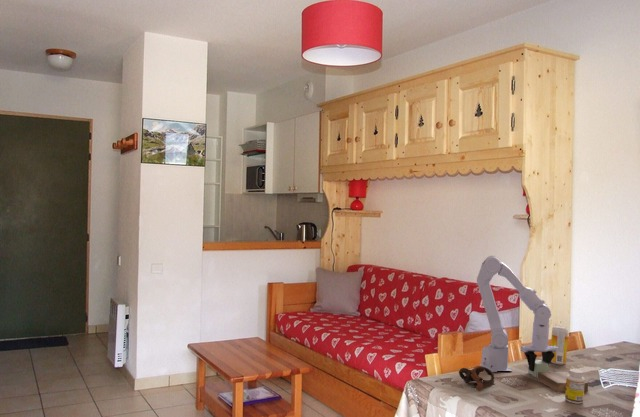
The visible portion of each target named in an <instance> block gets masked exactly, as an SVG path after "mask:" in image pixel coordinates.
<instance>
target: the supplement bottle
mask: <svg viewBox="0 0 640 417" xmlns="http://www.w3.org/2000/svg"><path fill="white" fill-rule="evenodd" d="M568 373H569V375H567V378H566V391H565V396H564V398H565V400H566V401H567V402H569V403H572V404H578V405H579V404H582V403H584V401H585V400H584V399H585V398H584V396H585V391H584V384H585V381H586V379H585V377H583V371H582V370H580V369H576V368H575V369H574V368H571V369H569V372H568Z"/></svg>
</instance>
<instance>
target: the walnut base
mask: <svg viewBox="0 0 640 417" xmlns="http://www.w3.org/2000/svg"><path fill="white" fill-rule="evenodd" d="M567 375H569V372H568V371H548V372H538V377H537V381H538V382H540V383H542V384H544V385H545V386H547V387H549V388H551V389H552V390H554V391H556V392H566V378H567ZM588 391H589V382H587V381H586V380H585V384H584V392H588Z"/></svg>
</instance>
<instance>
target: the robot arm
mask: <svg viewBox="0 0 640 417" xmlns="http://www.w3.org/2000/svg"><path fill="white" fill-rule="evenodd" d="M478 271H479V272H478V275H477V277H476V283H477V286H478V290H479V292H480V296H481V301H482V304H483V306H484V310H485V313H486V317H487V321H488V323H489V327H490V328H489V329H490V332H491V334H490V337H491V339H490V341H491V342H489V344H488V345H487V346H484V347H483V348H482V350H481V359H480V361H481V362H480V365H479V366H483V367H486V368H488V369H489V370H490V371H491V372H492V373H498V372H497V371H512V372H513V370H512V369H510V368H508V362H509V345H508V344H509V337H508V336H509V335H508V332H507V330H506V329H505V328H504V326H503V323H502V319H501V317H500V313H499V310H498V308H497V304H496V301H495V300H496V299H495V297H494V293H493V291H492V285H491V283H490V282H491V280H492V279H493V277H494V276H495V275H498V276H500V277H503V278H505V279H506V280H507V281H508V282H509V283H510V284H511V285H512V286H513V287H514V288H515V289H516V290H517V292H518V293H519V296H518V298H519V299H520V300H521V301H522V302H523V303H524V304H525V306H526V307H528V309H529V310H530V311H531V312H532V313H533V315H534V318H533V323H532V333H531V334H532V336H531V344H529V345H521V346H520V351H521V352H522V353H524V356H525V357H526V361H527V363H528V364H527V366H528V369H529V370H530V371H534V368H535V360H537V356H538V355H537V354H536V353H541V357H542V358H541V360H542V361H544V362H546V363H548V368H549V366H550V364H551V363H552V362H551V360H552V359H553V357H554V356H555V354H554V353H553V352H558V347H556V346H551V345H549V336H550V334H549V332H550V318H551V317H552V313H551V310H550V308H549V306H548V304H546V301H545V300H544V299H541V298H540V297H539V295H538V294H537V290H535V289H532V287H527V286H526V285H524V283H523V282H522V281H521V279H520V278H519V277H517V275H516V274H515V273H514V272H513V270H512V269H511V268H510V267H509V266H508V265H506V263H504V262H503V261H501V259H500V258H499V257H497V256H495V255H489V256H487V257H486V258H485V259H484V261H483V262H482V263H481V266H480V269H479V270H478Z"/></svg>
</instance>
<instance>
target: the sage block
mask: <svg viewBox="0 0 640 417" xmlns="http://www.w3.org/2000/svg"><path fill="white" fill-rule="evenodd" d="M538 372H549V367H548V363H546V362H544V361H542V359H536V360H535V368H534V371H530V370H529V368H528V371H527V373H528V374H530V375H531V376H533V377H535V378H538Z"/></svg>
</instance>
